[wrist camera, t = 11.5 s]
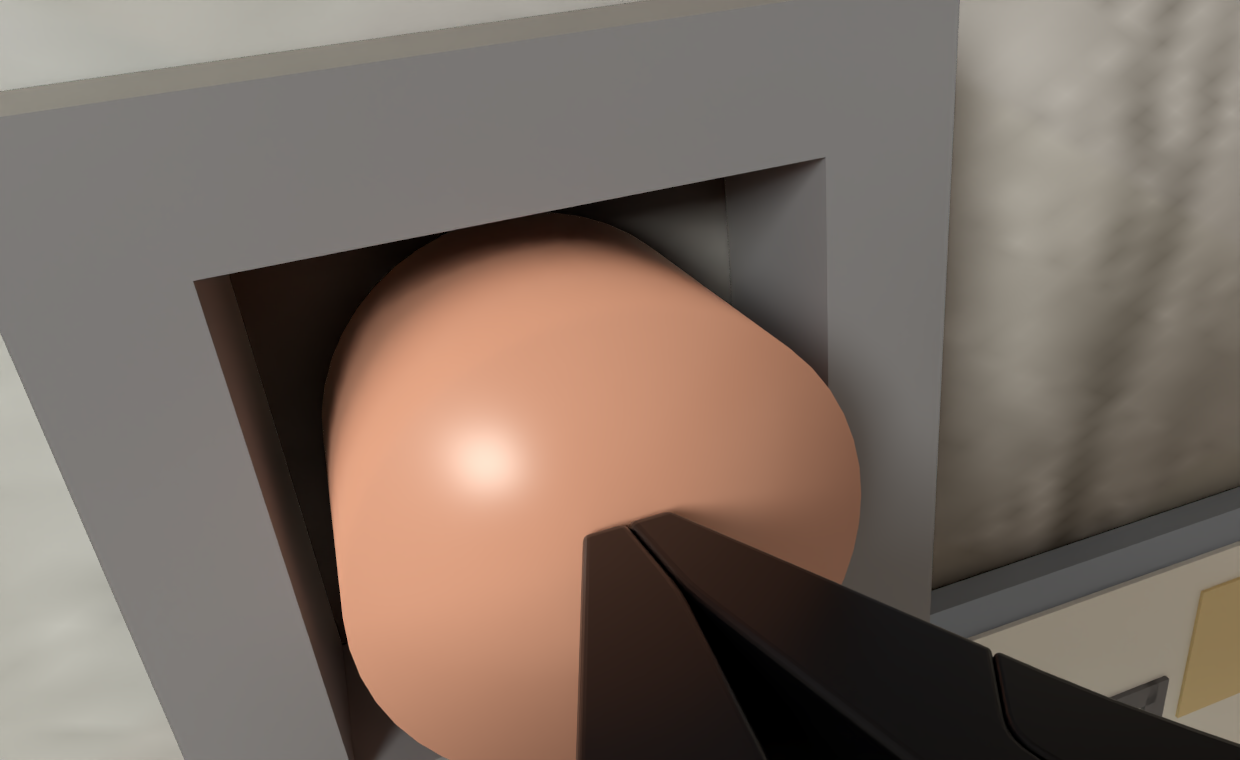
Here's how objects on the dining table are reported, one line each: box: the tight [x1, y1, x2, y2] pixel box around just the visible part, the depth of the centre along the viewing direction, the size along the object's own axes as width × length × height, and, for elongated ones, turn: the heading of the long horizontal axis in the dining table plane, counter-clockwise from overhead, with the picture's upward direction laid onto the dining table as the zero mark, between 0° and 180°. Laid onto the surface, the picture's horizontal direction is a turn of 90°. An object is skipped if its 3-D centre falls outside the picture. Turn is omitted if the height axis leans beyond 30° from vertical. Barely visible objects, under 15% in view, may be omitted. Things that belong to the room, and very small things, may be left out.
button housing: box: [0, 0, 960, 760], centre depth 11 cm, size 9×9×2 cm
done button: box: [322, 213, 861, 760], centre depth 10 cm, size 5×5×4 cm
